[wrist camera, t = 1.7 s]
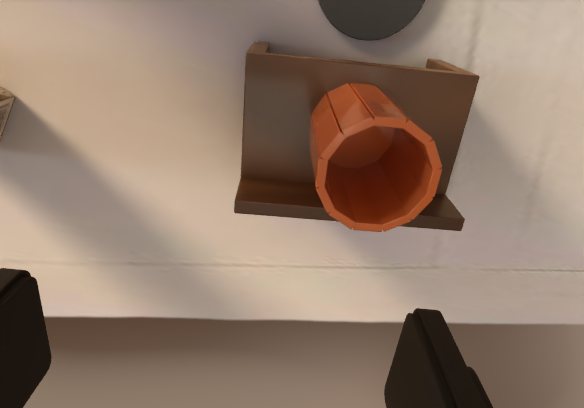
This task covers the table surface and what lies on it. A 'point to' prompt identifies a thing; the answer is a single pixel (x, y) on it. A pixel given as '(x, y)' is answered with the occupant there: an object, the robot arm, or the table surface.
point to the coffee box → (5, 107)
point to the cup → (371, 159)
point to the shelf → (296, 118)
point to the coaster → (370, 16)
